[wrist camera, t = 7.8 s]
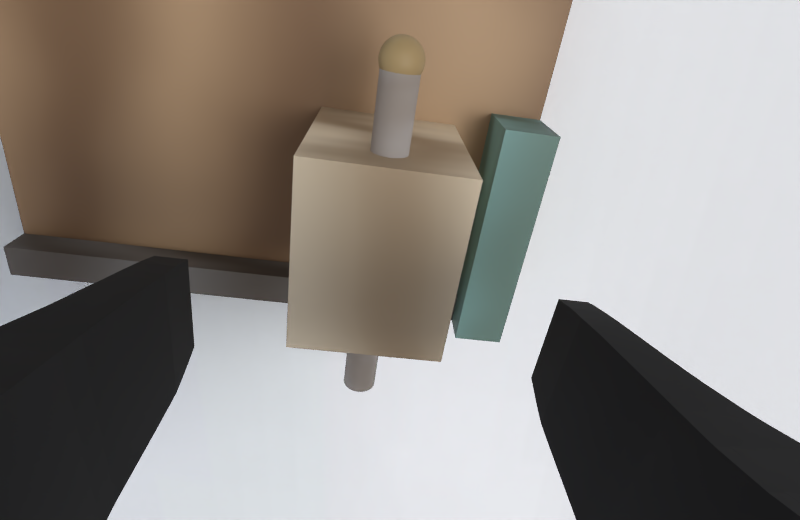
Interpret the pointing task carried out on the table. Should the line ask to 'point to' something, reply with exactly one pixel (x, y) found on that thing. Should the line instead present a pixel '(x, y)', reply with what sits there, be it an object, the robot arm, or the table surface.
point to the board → (255, 129)
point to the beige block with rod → (379, 226)
